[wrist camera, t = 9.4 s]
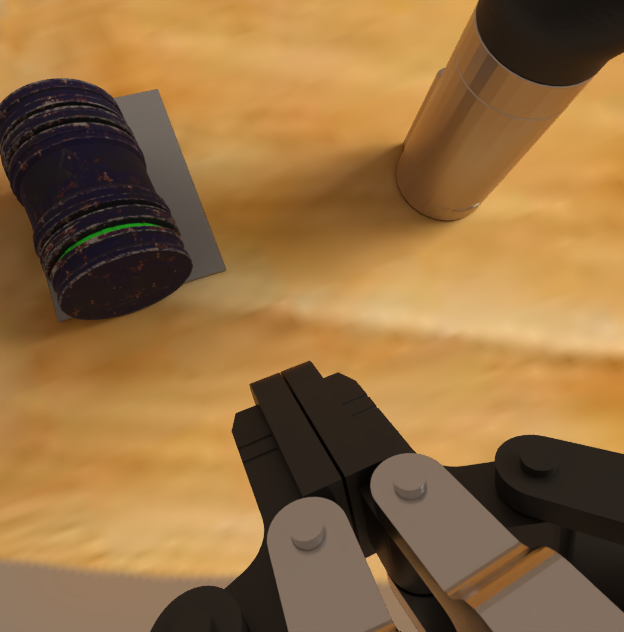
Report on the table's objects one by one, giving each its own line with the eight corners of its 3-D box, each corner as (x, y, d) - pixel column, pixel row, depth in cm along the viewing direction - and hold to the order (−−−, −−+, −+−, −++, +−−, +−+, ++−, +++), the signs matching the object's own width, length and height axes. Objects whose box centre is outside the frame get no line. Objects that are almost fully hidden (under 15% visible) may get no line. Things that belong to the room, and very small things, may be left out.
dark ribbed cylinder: (186, 296, 42) (123, 159, 45) (204, 235, 33) (125, 72, 36) (64, 333, 37) (3, 177, 40) (48, 273, 28) (-27, 82, 32)
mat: (4, 123, 43) (3, 121, 43) (158, 91, 47) (157, 89, 46) (59, 322, 39) (58, 321, 38) (225, 270, 42) (225, 269, 42)
